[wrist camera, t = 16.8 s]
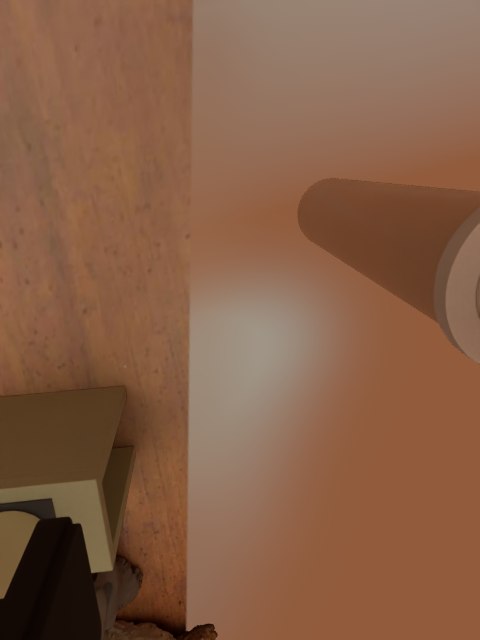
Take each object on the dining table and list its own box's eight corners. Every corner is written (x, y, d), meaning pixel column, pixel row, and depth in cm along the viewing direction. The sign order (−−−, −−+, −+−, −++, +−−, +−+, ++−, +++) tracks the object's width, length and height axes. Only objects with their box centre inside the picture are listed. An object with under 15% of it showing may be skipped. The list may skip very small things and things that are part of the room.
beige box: (125, 385, 44) (86, 511, 28) (135, 456, 47) (105, 608, 31) (-4, 396, 43) (-121, 533, 27) (14, 468, 46) (-83, 631, 30)
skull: (116, 614, 54) (101, 728, 43) (-41, 566, 49) (-102, 682, 38) (164, 542, 51) (162, 643, 41) (5, 484, 46) (-46, 581, 35)
